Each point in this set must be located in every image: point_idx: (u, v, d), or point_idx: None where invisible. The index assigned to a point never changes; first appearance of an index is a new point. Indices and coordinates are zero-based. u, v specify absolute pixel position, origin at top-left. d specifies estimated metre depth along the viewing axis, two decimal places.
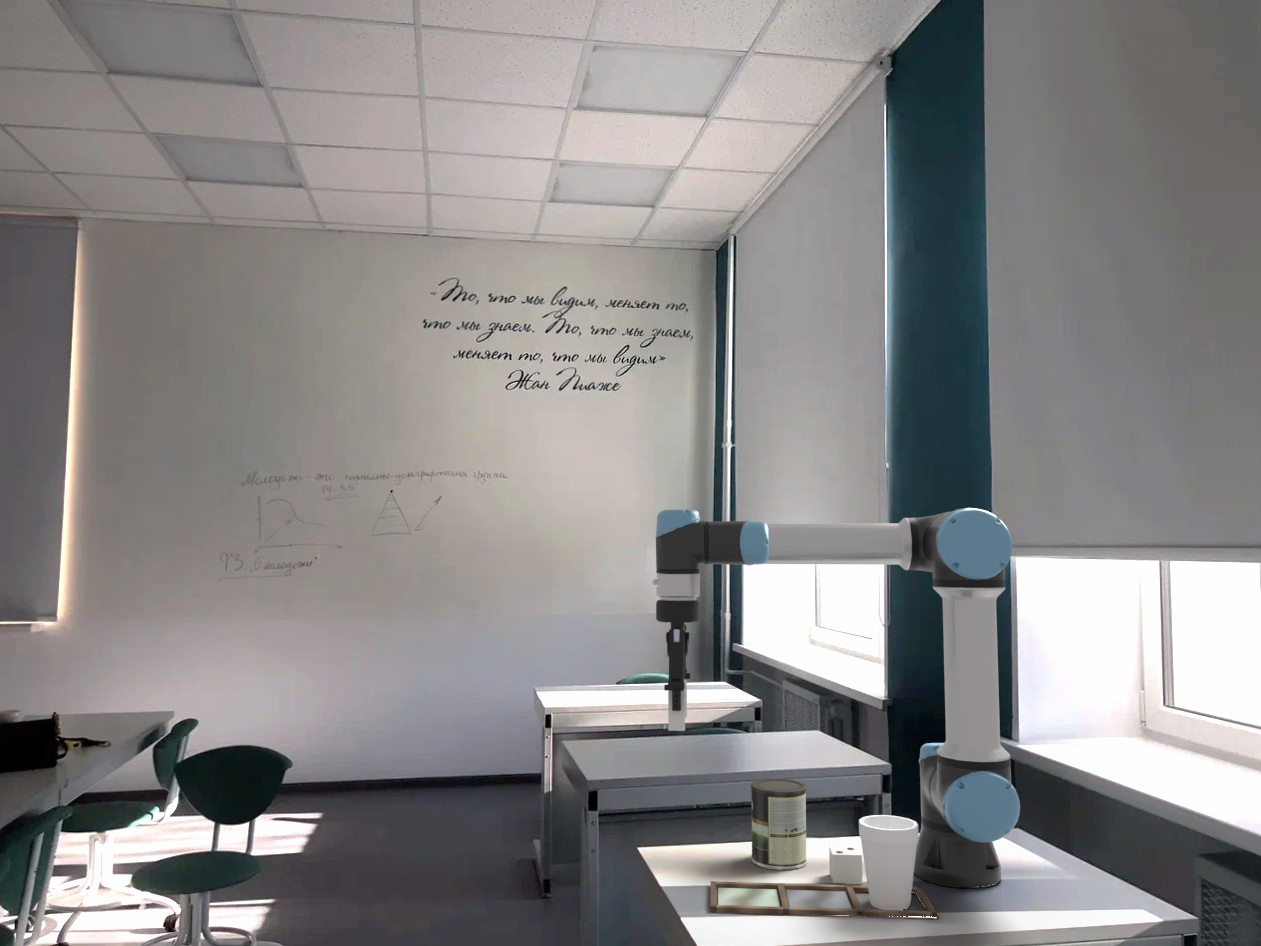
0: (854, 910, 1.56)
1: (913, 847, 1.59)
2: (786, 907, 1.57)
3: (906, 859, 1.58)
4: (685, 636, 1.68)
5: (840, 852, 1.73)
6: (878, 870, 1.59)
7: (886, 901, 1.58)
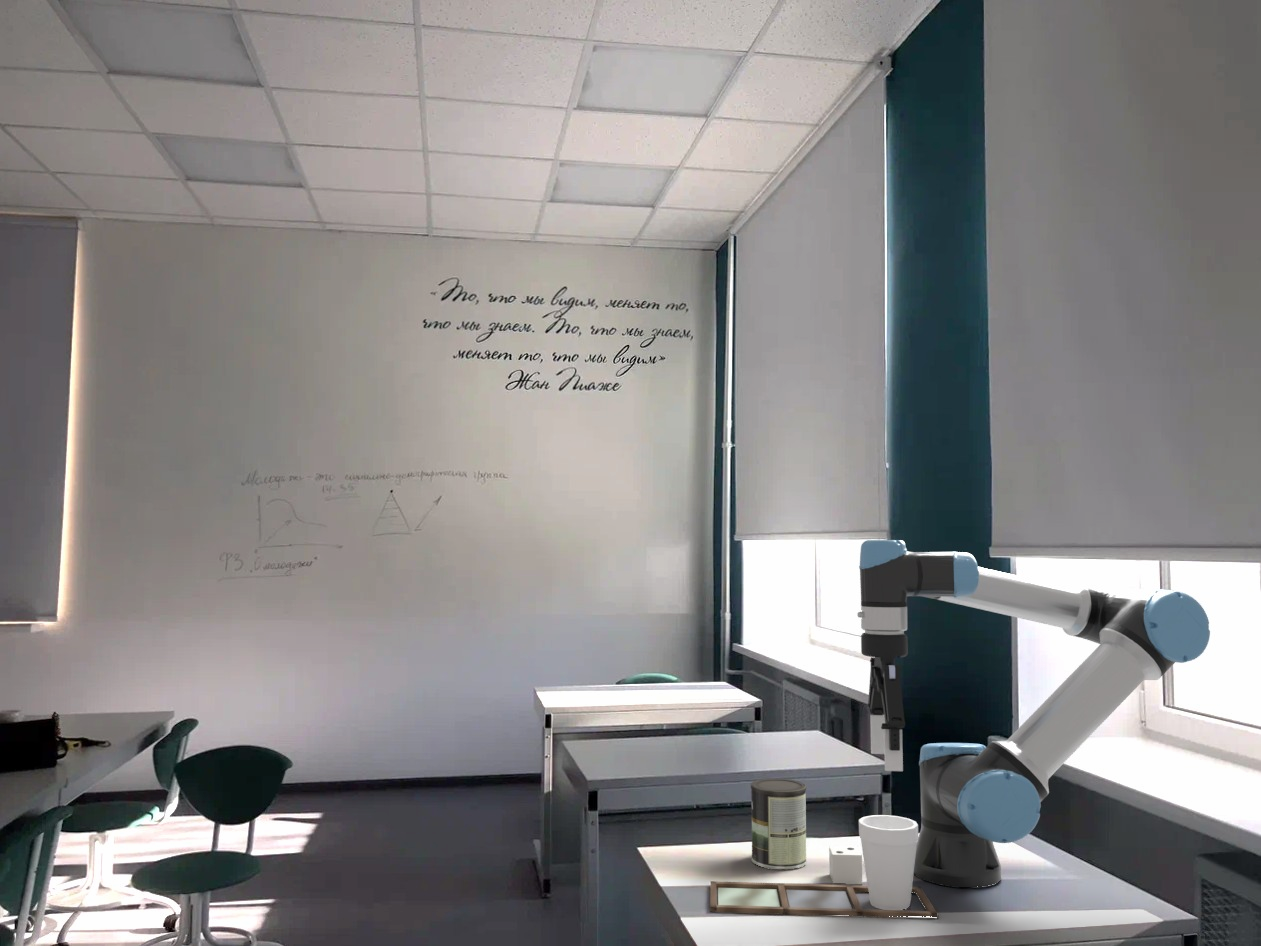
0: (854, 910, 1.56)
1: (913, 847, 1.59)
2: (786, 907, 1.57)
3: (906, 859, 1.58)
4: None
5: (840, 852, 1.73)
6: (878, 870, 1.59)
7: (886, 901, 1.58)
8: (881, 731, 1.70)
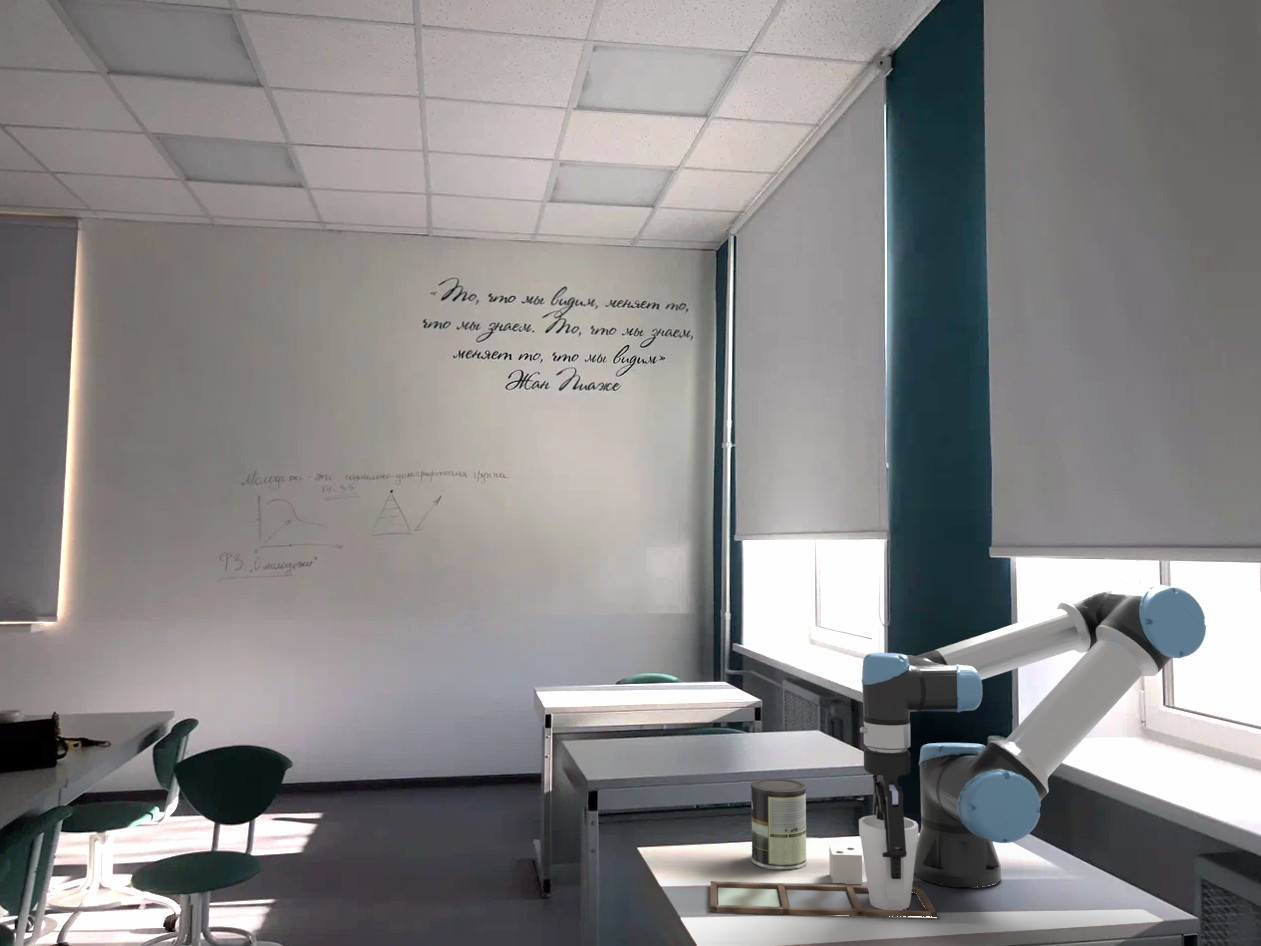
0: (854, 910, 1.56)
1: (913, 847, 1.59)
2: (786, 907, 1.57)
3: (906, 859, 1.58)
4: (898, 790, 1.61)
5: (840, 852, 1.73)
6: (878, 870, 1.59)
7: (886, 901, 1.58)
8: None
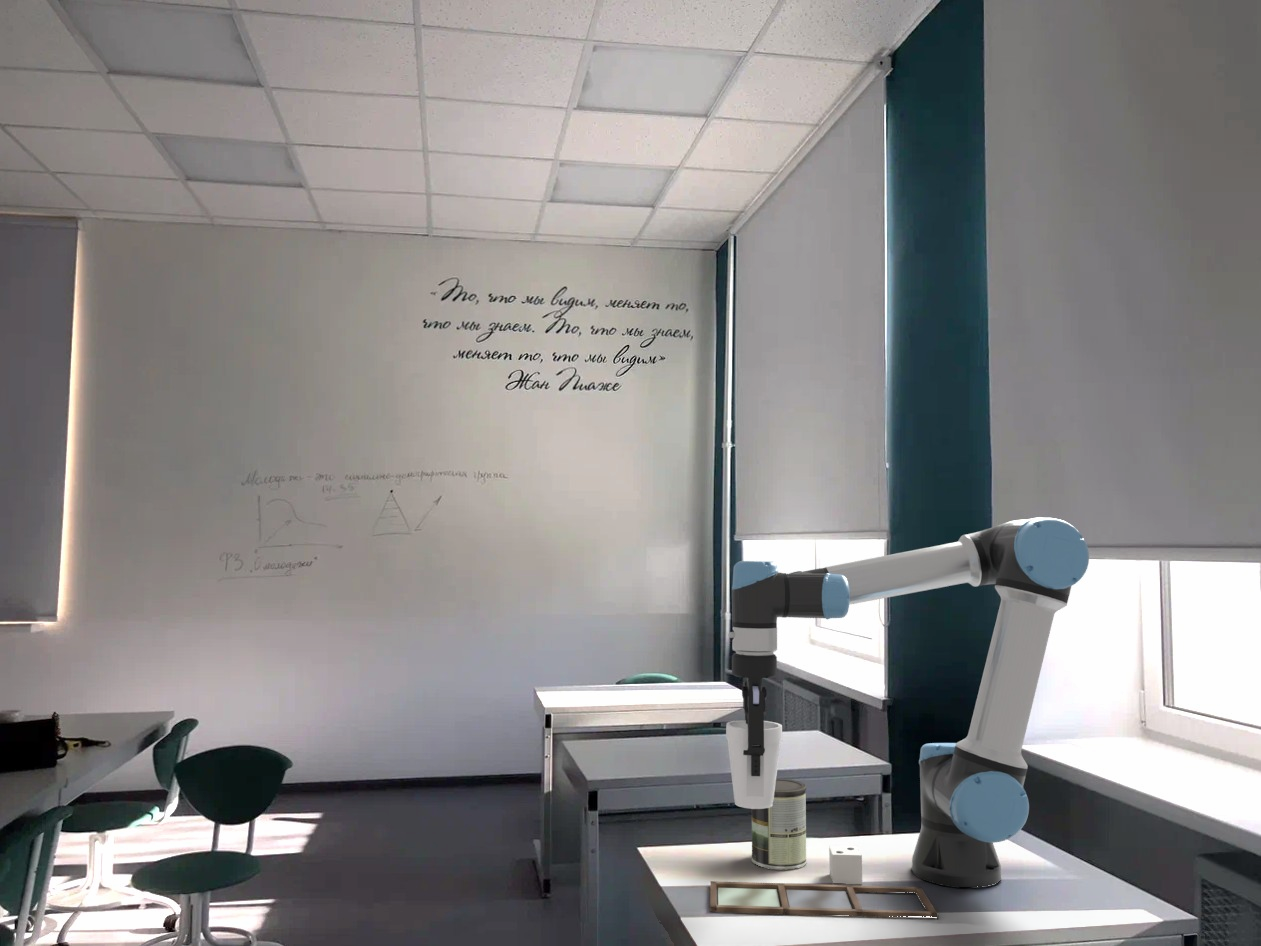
0: (854, 910, 1.56)
1: (776, 747, 1.62)
2: (786, 907, 1.57)
3: (768, 758, 1.61)
4: None
5: (840, 852, 1.73)
6: (741, 769, 1.62)
7: (748, 799, 1.61)
8: None
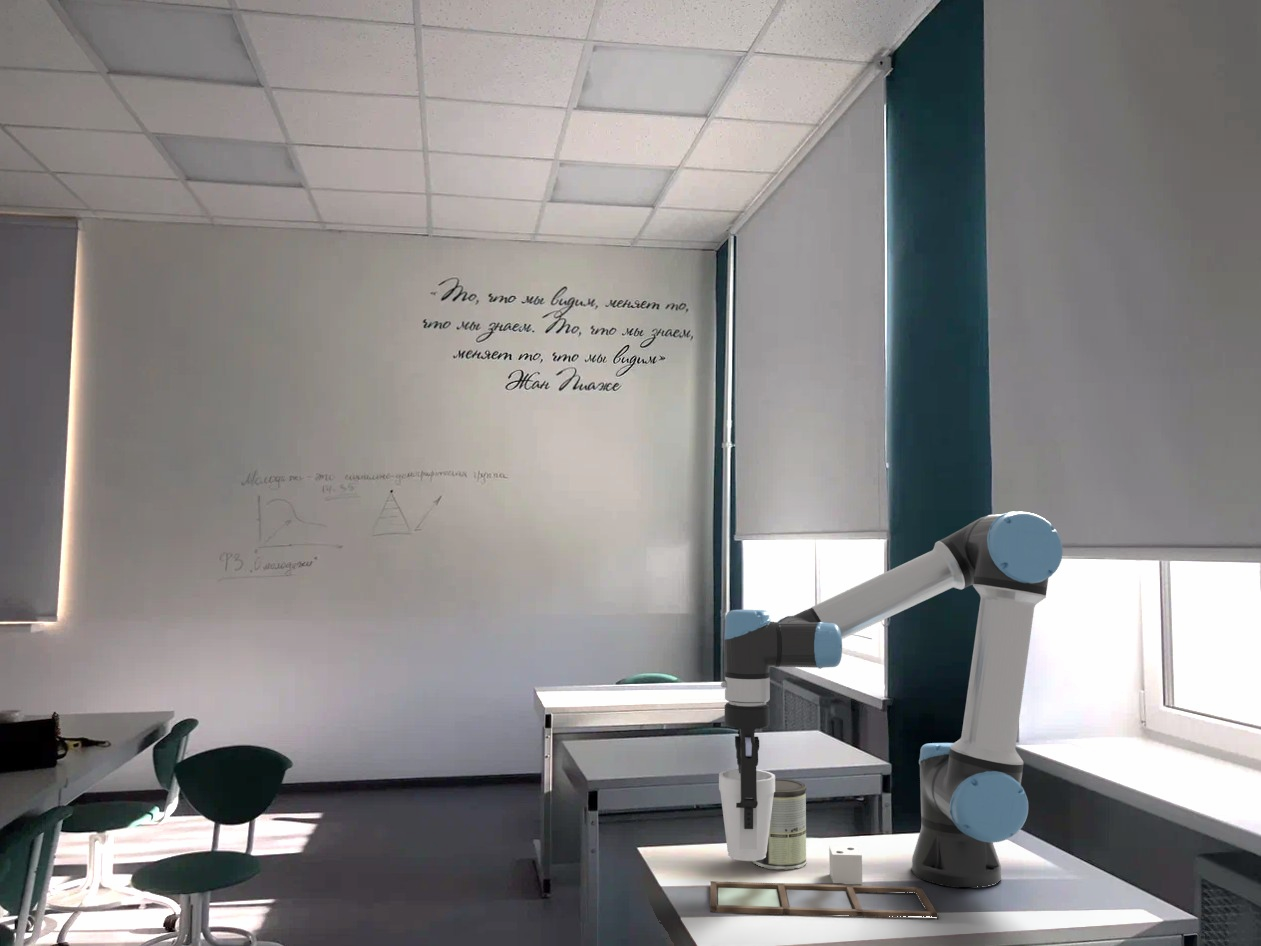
0: (854, 910, 1.56)
1: (768, 798, 1.62)
2: (786, 907, 1.57)
3: (761, 810, 1.61)
4: (755, 743, 1.63)
5: (840, 852, 1.73)
6: (733, 821, 1.61)
7: (741, 851, 1.61)
8: None
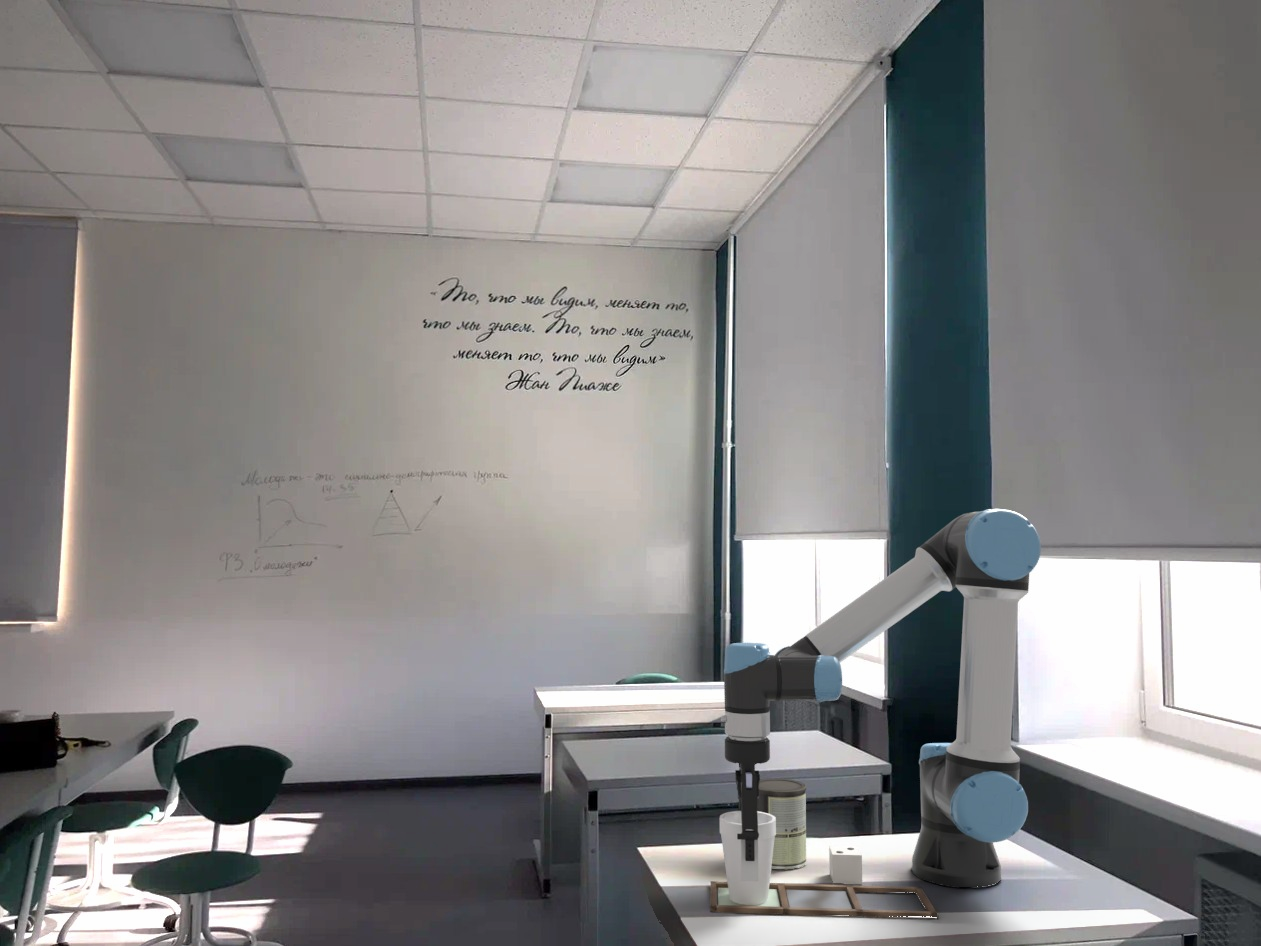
0: (854, 910, 1.56)
1: (769, 842, 1.61)
2: (786, 907, 1.57)
3: (762, 854, 1.60)
4: None
5: (840, 852, 1.73)
6: (735, 865, 1.61)
7: (742, 895, 1.60)
8: None
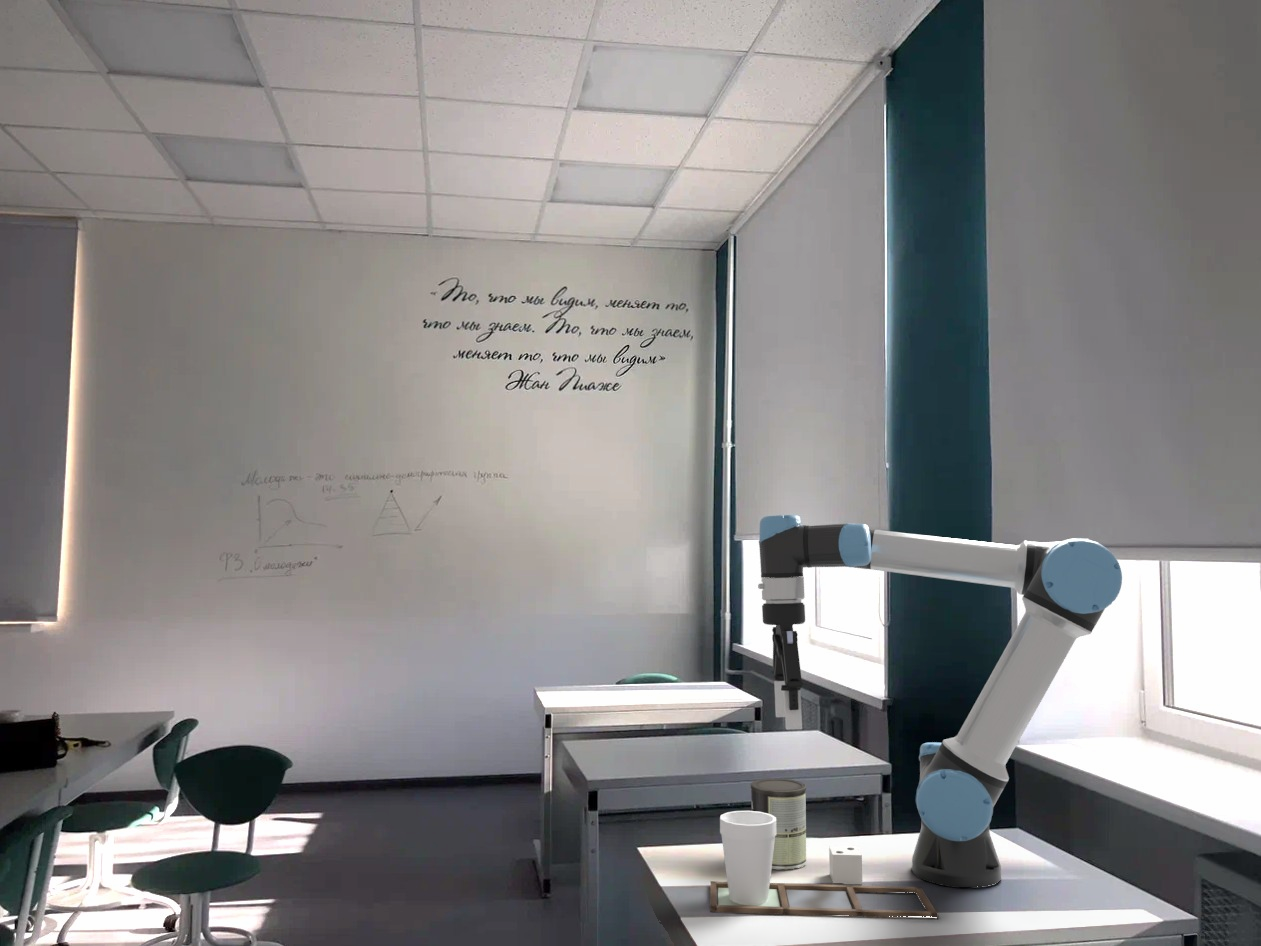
0: (854, 910, 1.56)
1: (770, 842, 1.61)
2: (786, 907, 1.57)
3: (762, 854, 1.60)
4: None
5: (840, 852, 1.73)
6: (735, 865, 1.61)
7: (742, 895, 1.60)
8: None
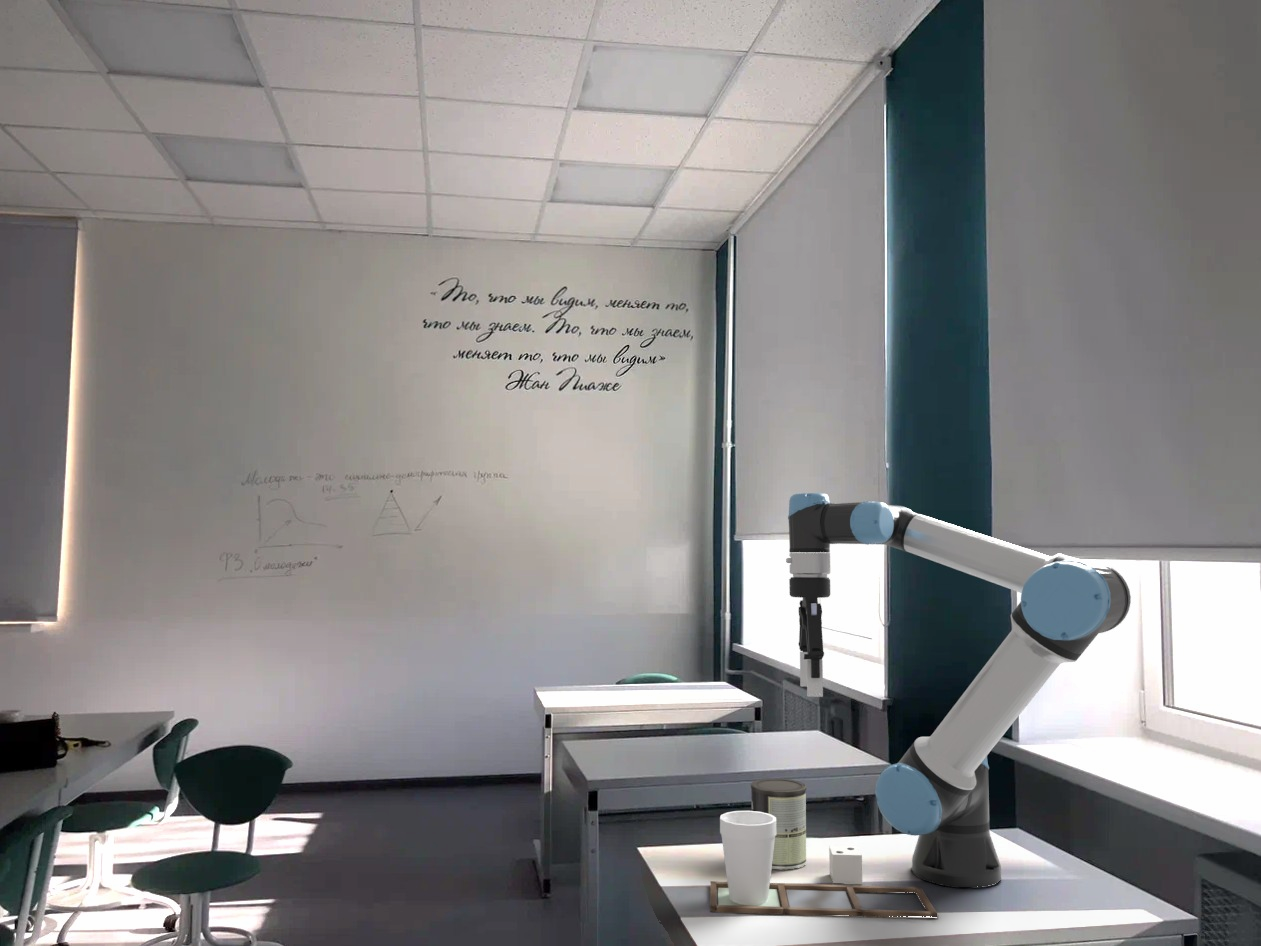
0: (854, 910, 1.56)
1: (770, 842, 1.61)
2: (786, 907, 1.57)
3: (762, 854, 1.60)
4: None
5: (840, 852, 1.73)
6: (735, 865, 1.61)
7: (742, 895, 1.60)
8: None
